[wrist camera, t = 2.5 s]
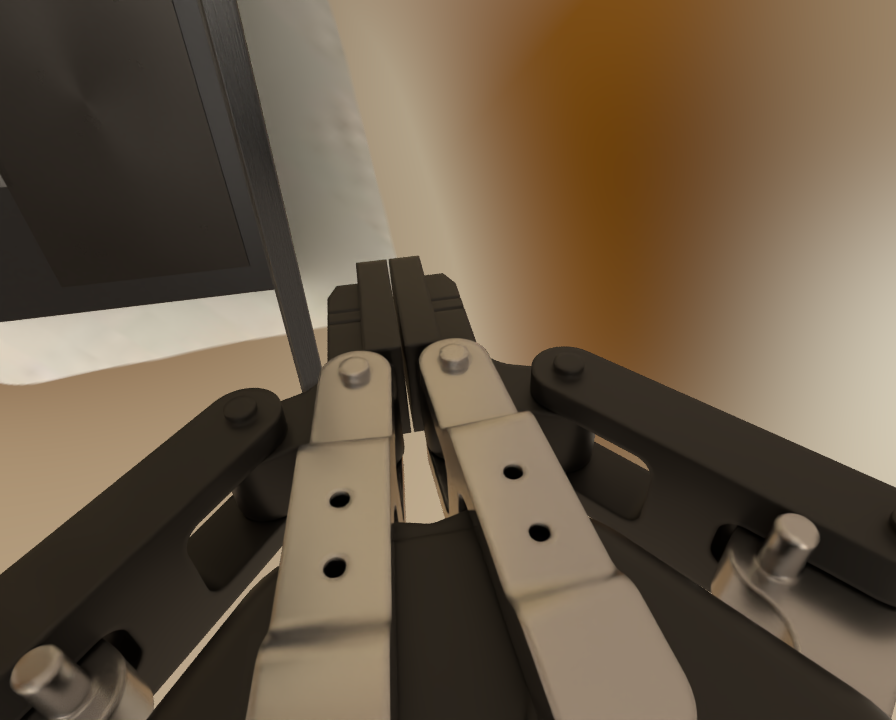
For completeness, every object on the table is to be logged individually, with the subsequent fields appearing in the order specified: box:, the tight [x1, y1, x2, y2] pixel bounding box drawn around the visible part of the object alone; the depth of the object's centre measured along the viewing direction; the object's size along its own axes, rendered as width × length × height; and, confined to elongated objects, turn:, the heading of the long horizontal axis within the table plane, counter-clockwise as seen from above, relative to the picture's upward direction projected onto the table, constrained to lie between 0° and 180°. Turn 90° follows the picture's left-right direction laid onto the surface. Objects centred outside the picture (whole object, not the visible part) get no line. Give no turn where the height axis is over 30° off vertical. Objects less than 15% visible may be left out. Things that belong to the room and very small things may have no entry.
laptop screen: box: [197, 0, 322, 393], centre depth 24 cm, size 20×26×1 cm
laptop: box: [0, 0, 274, 322], centre depth 31 cm, size 20×26×2 cm
